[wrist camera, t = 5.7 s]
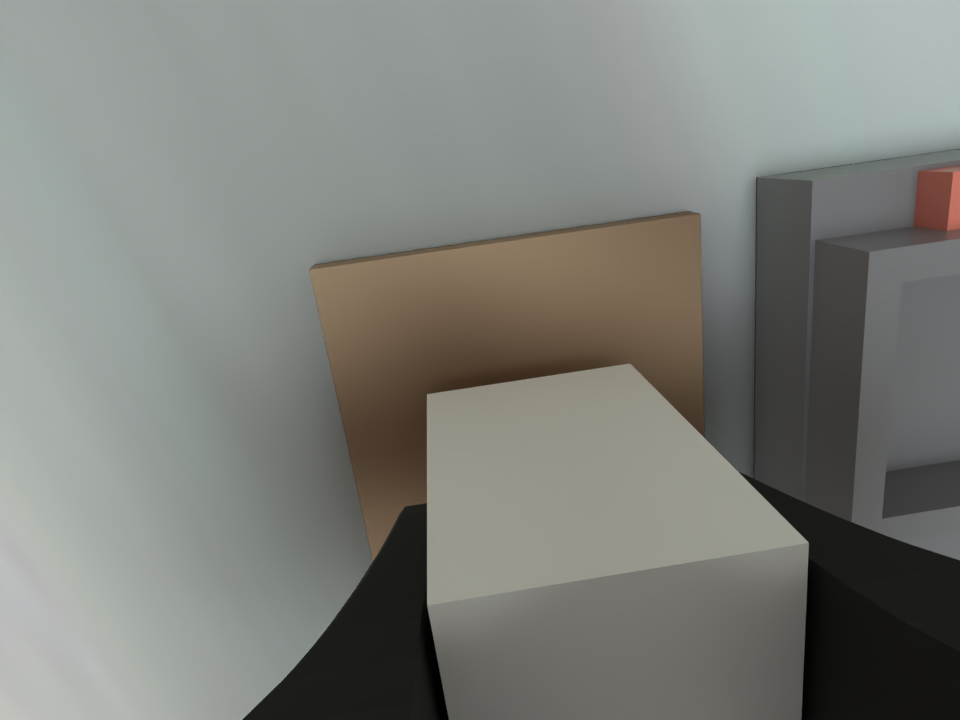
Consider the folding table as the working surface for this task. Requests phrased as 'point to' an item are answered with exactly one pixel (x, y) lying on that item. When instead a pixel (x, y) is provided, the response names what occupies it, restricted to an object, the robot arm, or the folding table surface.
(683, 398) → the walnut board
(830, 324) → the power strip
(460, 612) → the block
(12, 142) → the folding table surface
